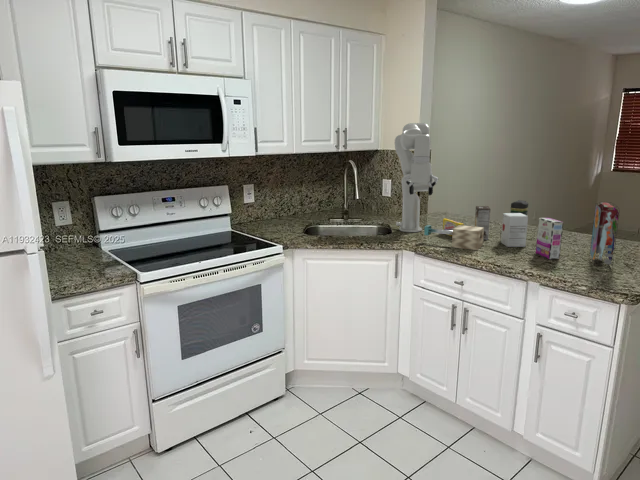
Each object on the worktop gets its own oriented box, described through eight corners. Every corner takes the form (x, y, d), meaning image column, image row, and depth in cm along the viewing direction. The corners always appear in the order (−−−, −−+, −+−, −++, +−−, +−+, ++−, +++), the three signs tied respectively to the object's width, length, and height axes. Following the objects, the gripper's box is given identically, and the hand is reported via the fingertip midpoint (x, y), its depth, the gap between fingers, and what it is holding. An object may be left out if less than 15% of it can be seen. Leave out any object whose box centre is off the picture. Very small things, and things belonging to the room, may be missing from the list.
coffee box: (473, 235, 241) (475, 205, 237) (486, 235, 239) (488, 205, 236) (475, 239, 232) (477, 208, 228) (488, 239, 231) (491, 208, 227)
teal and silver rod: (424, 235, 227) (424, 226, 226) (427, 233, 230) (427, 224, 229) (460, 238, 217) (460, 229, 216) (462, 237, 221) (463, 228, 220)
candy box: (442, 233, 248) (442, 218, 246) (445, 233, 248) (446, 218, 247) (460, 239, 233) (461, 223, 231) (463, 239, 234) (464, 223, 232)
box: (586, 252, 203) (593, 198, 197) (602, 254, 200) (609, 199, 195) (594, 268, 181) (601, 207, 175) (612, 269, 178) (620, 208, 173)
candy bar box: (560, 259, 193) (564, 221, 190) (549, 259, 193) (553, 222, 189) (545, 252, 204) (549, 217, 201) (534, 253, 204) (538, 217, 200)
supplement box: (500, 242, 225) (502, 212, 221) (518, 242, 224) (520, 212, 221) (506, 247, 216) (509, 216, 212) (526, 246, 215) (528, 215, 212)
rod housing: (451, 247, 217) (452, 228, 215) (458, 242, 225) (458, 225, 223) (477, 250, 211) (478, 231, 209) (482, 245, 219) (484, 227, 217)
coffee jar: (522, 238, 233) (525, 202, 229) (506, 236, 238) (509, 201, 233) (527, 234, 240) (530, 200, 236) (511, 232, 245) (514, 198, 241)
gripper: (402, 160, 225) (401, 194, 229) (436, 160, 216) (434, 196, 219) (408, 159, 231) (407, 193, 235) (441, 159, 222) (440, 194, 225)
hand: (420, 194), depth 227 cm, fingers open, 9 cm apart
